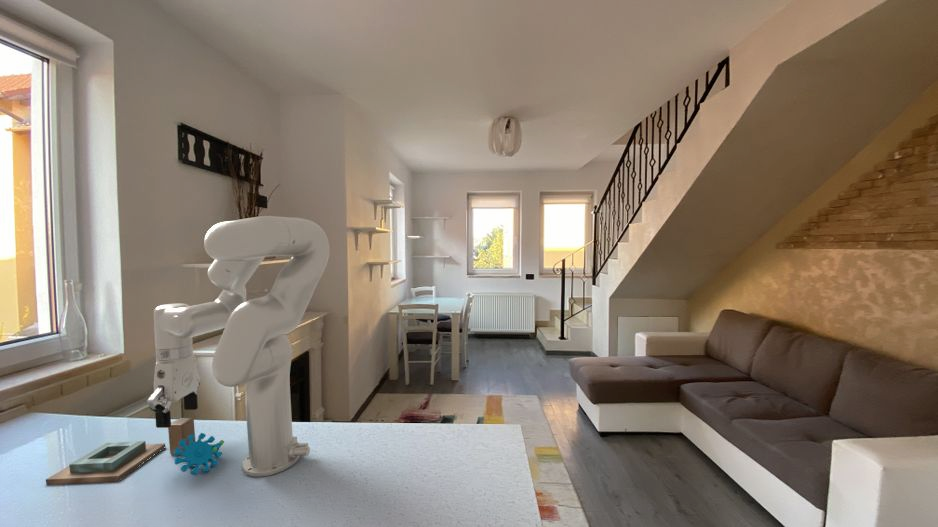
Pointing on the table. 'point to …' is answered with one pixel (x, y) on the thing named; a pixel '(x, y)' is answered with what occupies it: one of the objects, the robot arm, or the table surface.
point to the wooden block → (180, 432)
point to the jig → (106, 463)
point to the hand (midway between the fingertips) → (178, 417)
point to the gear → (198, 453)
